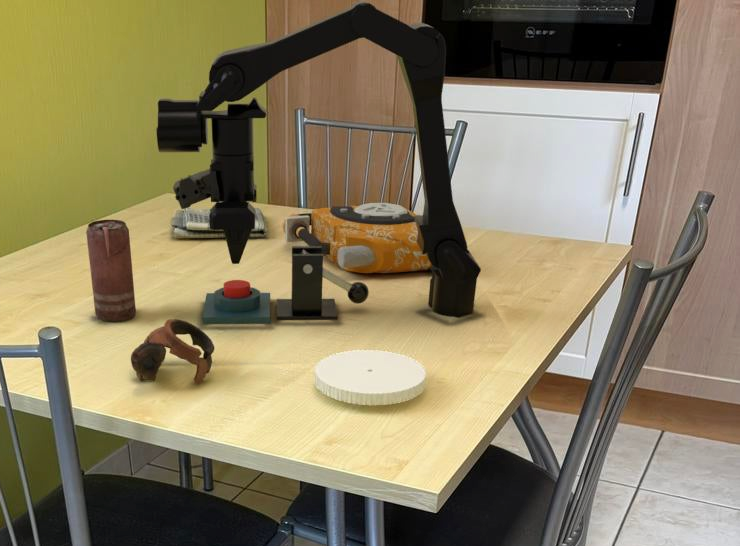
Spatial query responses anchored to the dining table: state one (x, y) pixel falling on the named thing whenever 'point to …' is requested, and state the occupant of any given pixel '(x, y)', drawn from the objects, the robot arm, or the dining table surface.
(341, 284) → the lever handle
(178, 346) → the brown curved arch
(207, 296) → the button housing
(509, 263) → the dining table surface
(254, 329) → the dining table surface
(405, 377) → the plastic lid
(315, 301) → the lever bracket
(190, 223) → the dish towel
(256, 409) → the dining table surface
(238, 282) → the red button
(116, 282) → the can
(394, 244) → the device
